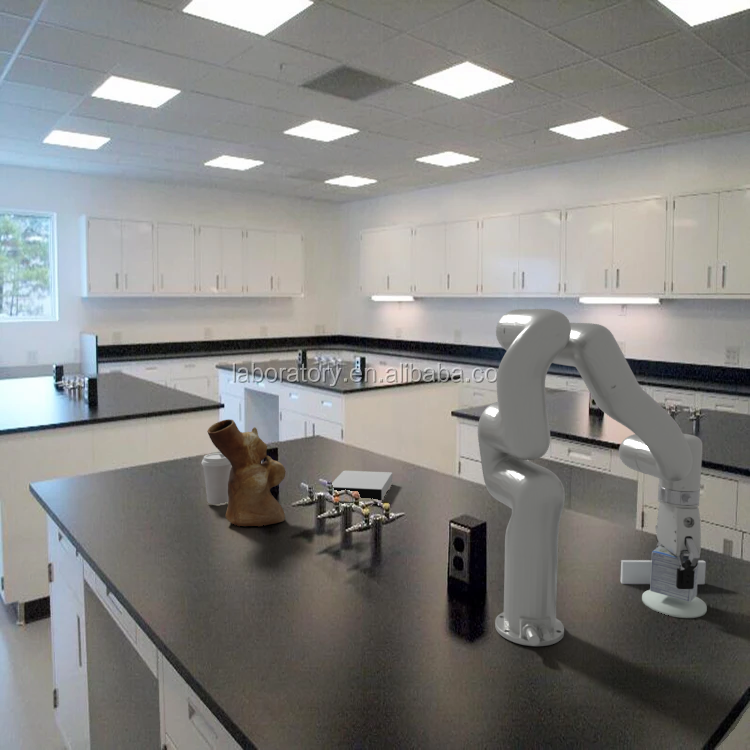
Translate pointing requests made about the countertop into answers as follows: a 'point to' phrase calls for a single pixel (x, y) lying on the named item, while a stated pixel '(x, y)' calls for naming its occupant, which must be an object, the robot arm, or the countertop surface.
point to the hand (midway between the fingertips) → (674, 578)
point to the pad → (674, 605)
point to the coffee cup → (216, 477)
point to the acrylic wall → (648, 572)
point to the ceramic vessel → (248, 476)
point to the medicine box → (669, 575)
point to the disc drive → (364, 483)
